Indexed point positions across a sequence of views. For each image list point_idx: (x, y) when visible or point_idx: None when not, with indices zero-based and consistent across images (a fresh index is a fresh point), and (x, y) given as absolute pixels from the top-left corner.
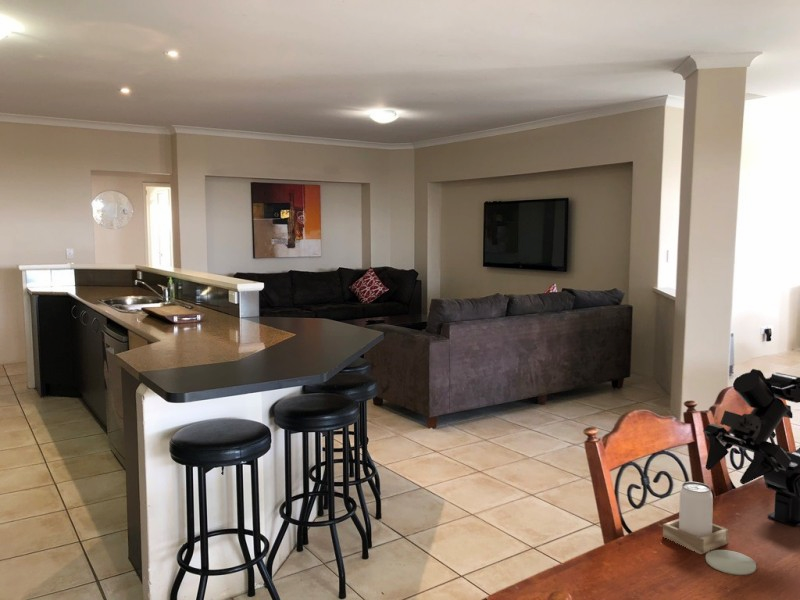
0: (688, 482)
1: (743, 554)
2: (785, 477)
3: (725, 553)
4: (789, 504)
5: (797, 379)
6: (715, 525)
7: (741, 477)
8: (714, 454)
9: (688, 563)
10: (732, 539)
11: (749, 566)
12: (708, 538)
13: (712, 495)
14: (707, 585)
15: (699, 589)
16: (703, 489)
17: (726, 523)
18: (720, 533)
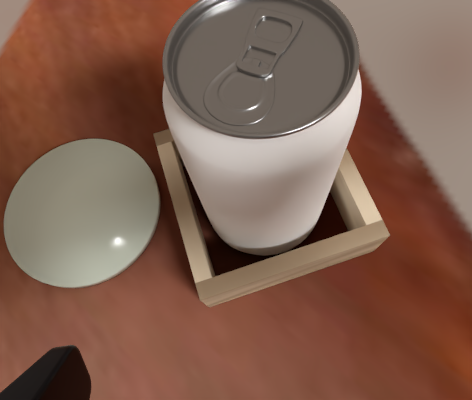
0: (352, 48)
1: (95, 281)
2: None
3: (125, 224)
4: None
5: None
6: (253, 271)
7: (51, 374)
8: None
9: (134, 96)
10: (234, 351)
11: (24, 239)
12: (164, 172)
13: (199, 158)
14: (22, 79)
15: (17, 53)
16: (221, 87)
17: None
18: (185, 245)
